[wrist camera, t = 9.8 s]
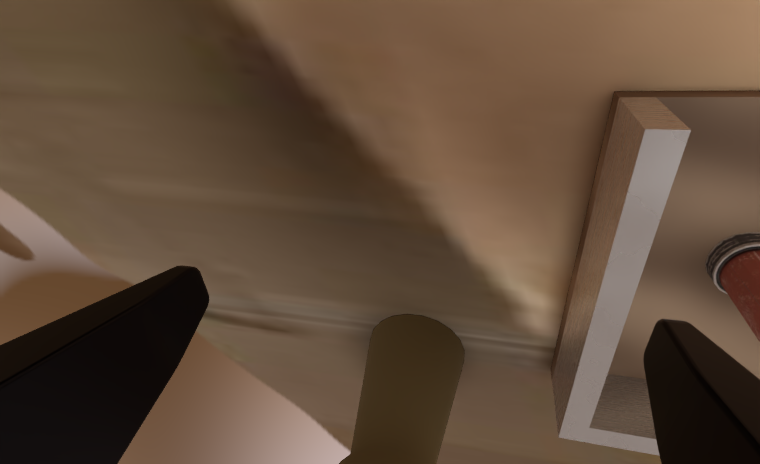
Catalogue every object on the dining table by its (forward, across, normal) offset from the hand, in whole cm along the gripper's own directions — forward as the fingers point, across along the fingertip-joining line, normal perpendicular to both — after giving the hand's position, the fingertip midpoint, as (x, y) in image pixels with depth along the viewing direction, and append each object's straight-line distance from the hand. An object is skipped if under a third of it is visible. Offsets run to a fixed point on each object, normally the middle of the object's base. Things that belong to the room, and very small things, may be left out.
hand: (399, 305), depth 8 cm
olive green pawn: (+12, +2, +15) cm, 19 cm away
